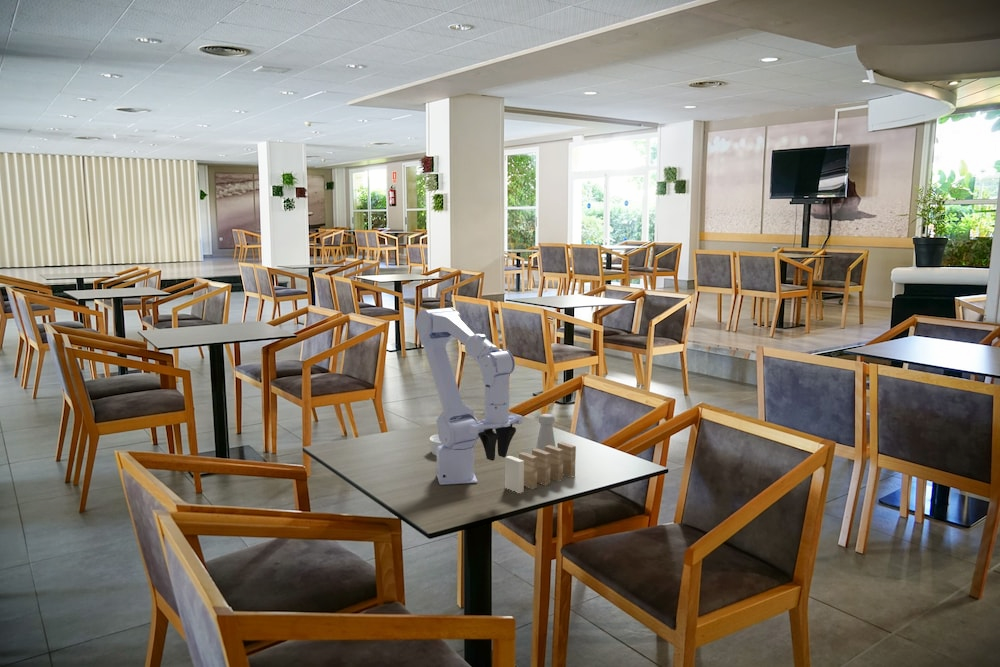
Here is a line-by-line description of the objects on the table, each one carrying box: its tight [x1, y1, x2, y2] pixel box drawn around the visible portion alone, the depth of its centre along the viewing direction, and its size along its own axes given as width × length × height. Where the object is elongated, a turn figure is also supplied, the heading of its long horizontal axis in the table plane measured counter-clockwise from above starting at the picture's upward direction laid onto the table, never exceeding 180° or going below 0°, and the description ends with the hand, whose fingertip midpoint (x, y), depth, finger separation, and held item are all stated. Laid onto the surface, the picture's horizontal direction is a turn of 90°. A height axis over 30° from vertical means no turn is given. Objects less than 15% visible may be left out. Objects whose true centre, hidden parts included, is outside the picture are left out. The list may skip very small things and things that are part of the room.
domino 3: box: [545, 445, 564, 482], centre depth 196 cm, size 2×5×8 cm, turn 41°
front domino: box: [504, 455, 524, 494], centre depth 187 cm, size 2×5×8 cm, turn 41°
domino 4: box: [557, 441, 577, 478], centre depth 199 cm, size 2×5×8 cm, turn 41°
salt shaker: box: [535, 413, 556, 451], centre depth 209 cm, size 6×6×13 cm
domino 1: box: [518, 451, 538, 490], centre depth 190 cm, size 2×5×8 cm, turn 41°
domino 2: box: [531, 448, 551, 486], centre depth 193 cm, size 2×5×8 cm, turn 41°
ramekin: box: [429, 433, 443, 457], centre depth 216 cm, size 9×9×4 cm
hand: (496, 457), depth 183 cm, fingers open, 3 cm apart
